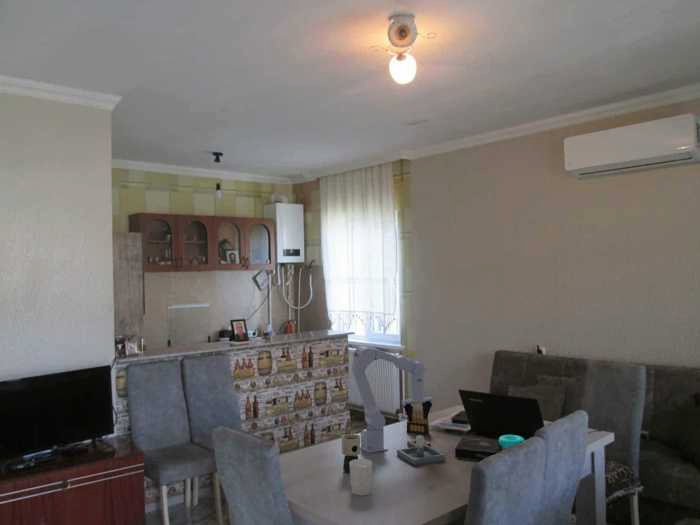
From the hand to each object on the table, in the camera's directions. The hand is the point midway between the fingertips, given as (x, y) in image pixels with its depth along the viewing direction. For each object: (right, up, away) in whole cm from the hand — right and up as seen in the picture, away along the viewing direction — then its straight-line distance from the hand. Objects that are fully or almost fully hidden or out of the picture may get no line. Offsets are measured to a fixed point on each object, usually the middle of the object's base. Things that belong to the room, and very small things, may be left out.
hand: (417, 420), depth 243 cm
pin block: (0, -10, -5) cm, 11 cm away
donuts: (+34, -9, -27) cm, 44 cm away
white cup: (-26, -10, -53) cm, 60 cm away
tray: (-1, -10, -19) cm, 22 cm away
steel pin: (-1, -9, -19) cm, 21 cm away
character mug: (-29, -10, -33) cm, 45 cm away
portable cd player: (+24, -10, -14) cm, 29 cm away
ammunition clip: (+2, -11, +16) cm, 19 cm away
